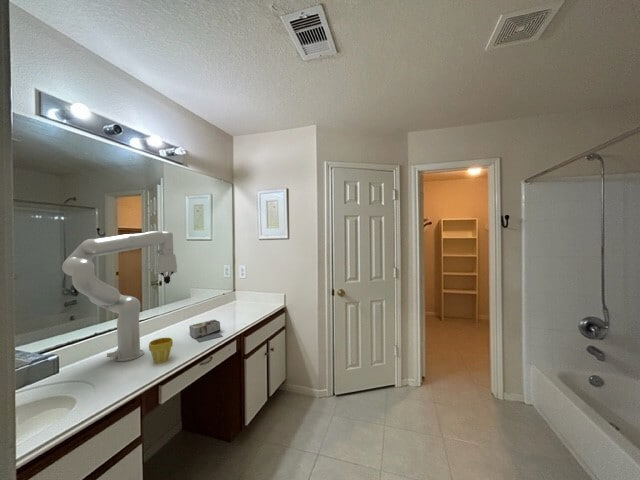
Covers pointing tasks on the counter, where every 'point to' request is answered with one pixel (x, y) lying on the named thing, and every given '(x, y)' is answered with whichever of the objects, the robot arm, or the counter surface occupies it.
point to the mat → (209, 337)
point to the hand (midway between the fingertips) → (167, 283)
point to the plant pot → (160, 349)
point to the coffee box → (204, 328)
